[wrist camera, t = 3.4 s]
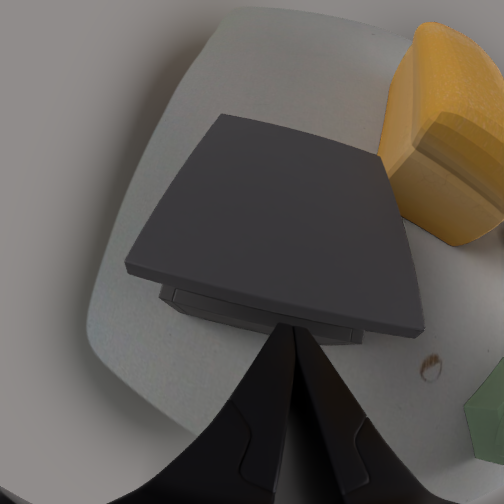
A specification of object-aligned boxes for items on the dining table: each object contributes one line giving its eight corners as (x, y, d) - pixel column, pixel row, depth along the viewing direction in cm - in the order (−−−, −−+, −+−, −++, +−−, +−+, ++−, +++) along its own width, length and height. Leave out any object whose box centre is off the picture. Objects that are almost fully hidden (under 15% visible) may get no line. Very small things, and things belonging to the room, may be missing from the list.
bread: (388, 79, 34) (426, 5, 19) (456, 120, 33) (504, 60, 19) (363, 197, 26) (451, 85, 12) (459, 252, 25) (560, 191, 11)
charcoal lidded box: (324, 345, 21) (362, 343, 15) (178, 312, 21) (158, 297, 15) (344, 205, 25) (376, 164, 19) (221, 174, 25) (220, 122, 19)
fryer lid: (414, 339, 10) (426, 330, 9) (127, 274, 10) (123, 261, 9) (376, 165, 19) (380, 156, 18) (219, 123, 19) (221, 113, 18)
